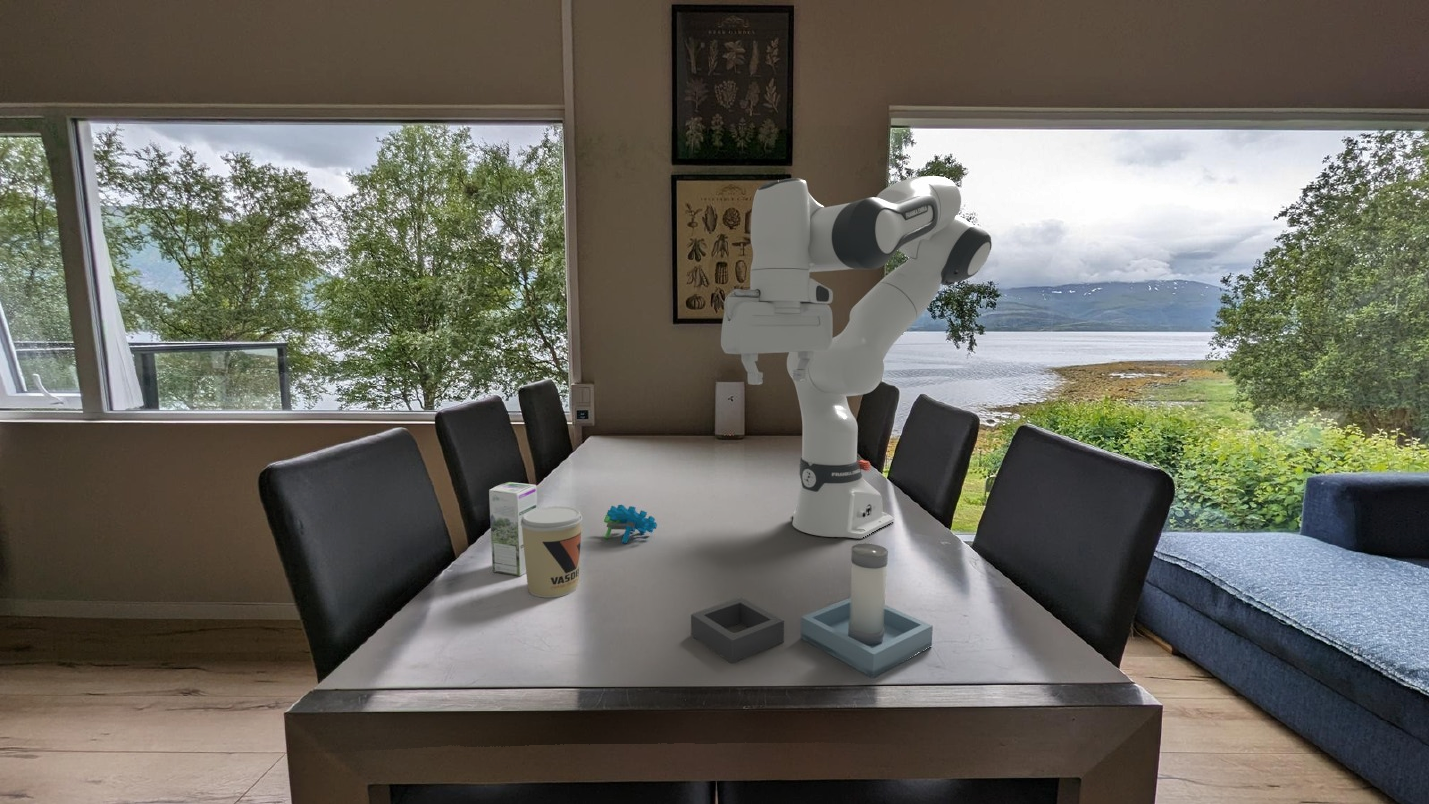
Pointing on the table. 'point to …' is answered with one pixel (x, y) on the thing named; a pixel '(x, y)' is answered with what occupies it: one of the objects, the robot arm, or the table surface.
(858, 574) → the cylinder
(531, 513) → the cream lidded tub
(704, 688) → the table surface
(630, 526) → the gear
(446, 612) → the table surface
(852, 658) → the tray
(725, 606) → the socket
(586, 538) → the table surface
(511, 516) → the syrup box
